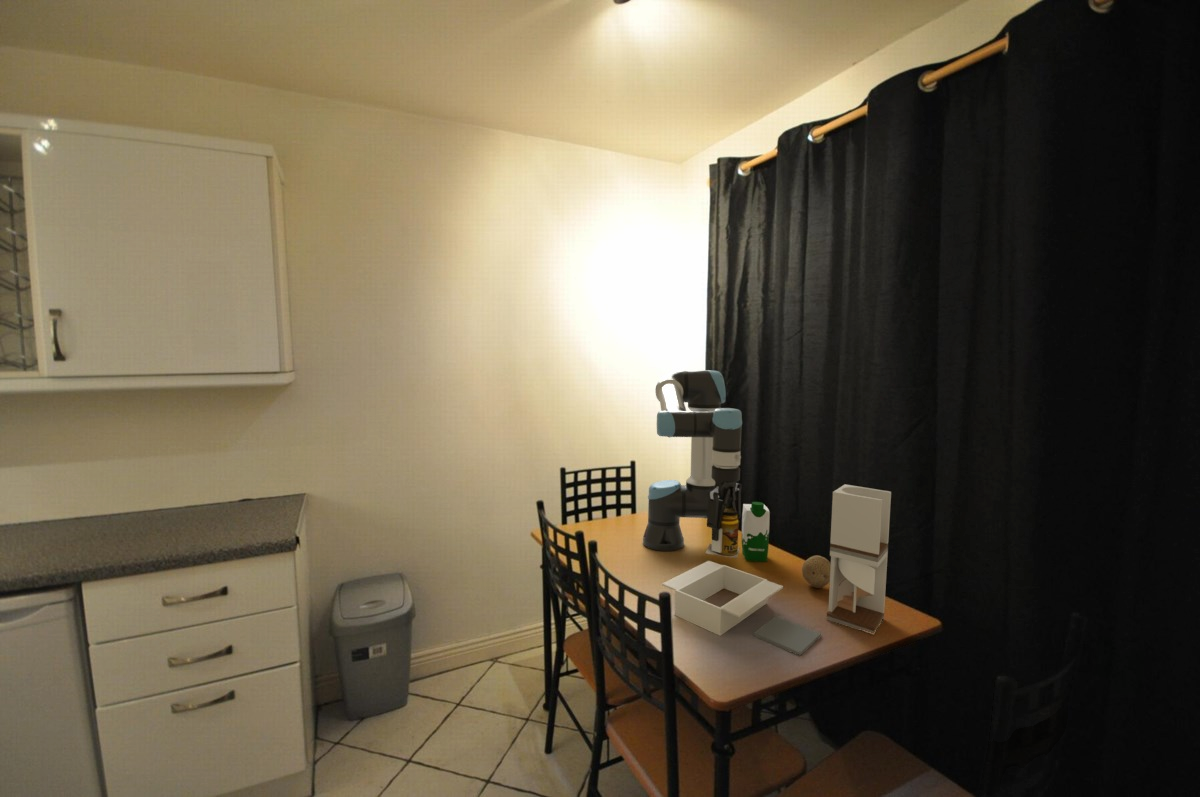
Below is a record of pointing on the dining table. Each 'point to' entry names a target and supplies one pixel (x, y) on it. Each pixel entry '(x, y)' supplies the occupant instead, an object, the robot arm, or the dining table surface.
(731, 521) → the condiment
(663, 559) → the dining table surface
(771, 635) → the slate mat
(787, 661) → the dining table surface
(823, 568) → the natural sponge
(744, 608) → the carton
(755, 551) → the milk carton
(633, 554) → the dining table surface
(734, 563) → the dining table surface
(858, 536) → the white cereal dispenser
